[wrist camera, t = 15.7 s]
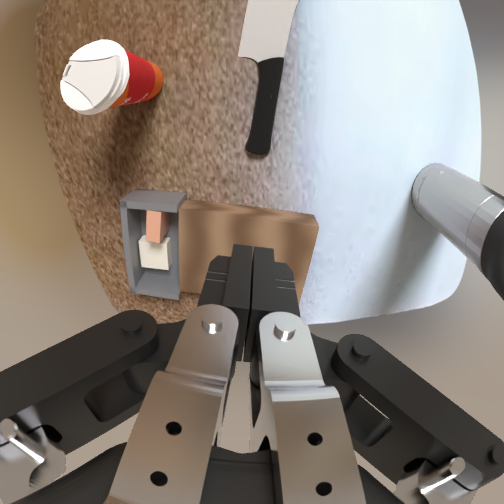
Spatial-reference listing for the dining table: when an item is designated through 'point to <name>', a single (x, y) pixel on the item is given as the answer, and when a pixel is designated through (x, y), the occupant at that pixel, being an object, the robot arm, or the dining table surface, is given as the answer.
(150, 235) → the terracotta tile
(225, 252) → the walnut board
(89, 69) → the paper cup
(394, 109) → the dining table surface
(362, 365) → the robot arm
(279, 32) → the kitchen cleaver
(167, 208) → the box
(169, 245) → the cream block
